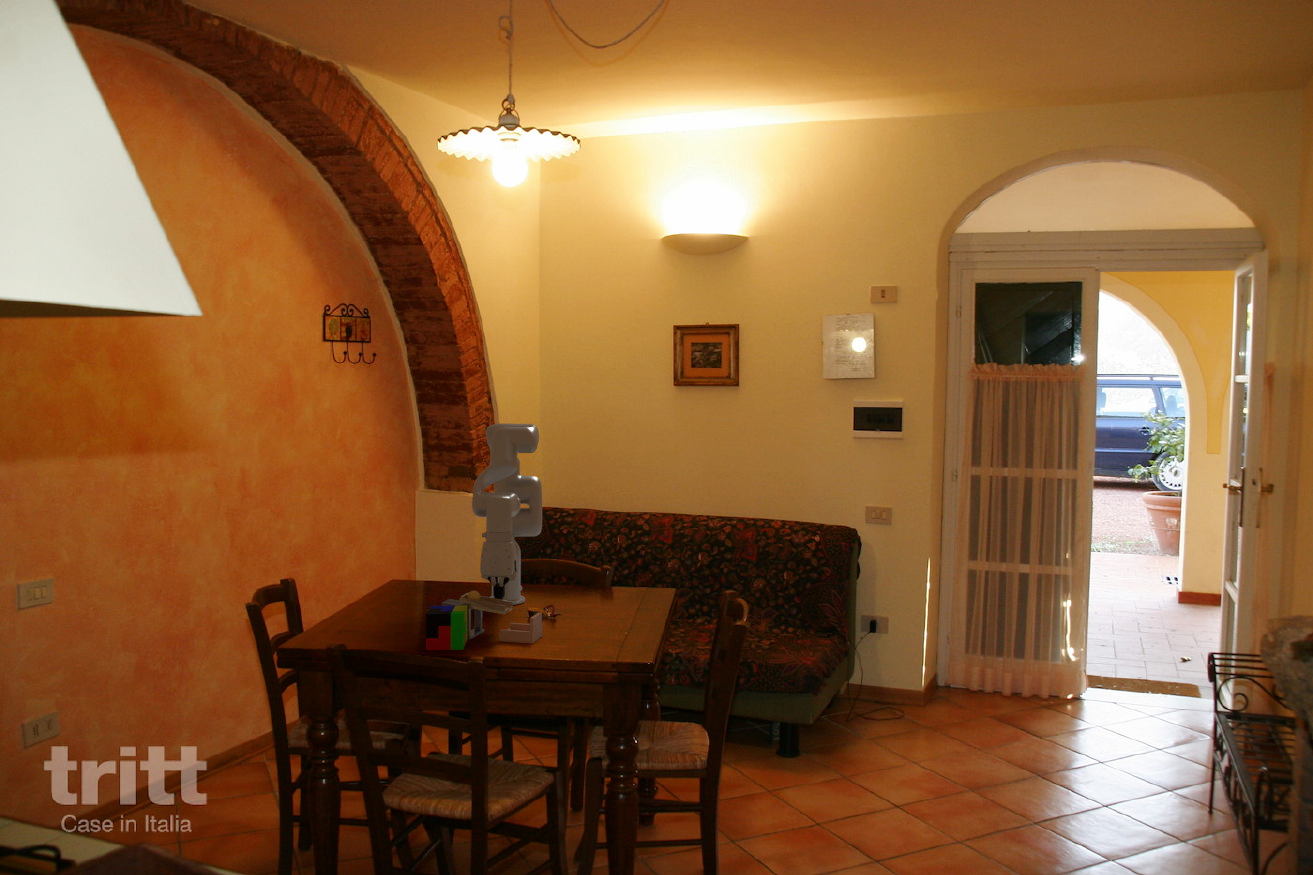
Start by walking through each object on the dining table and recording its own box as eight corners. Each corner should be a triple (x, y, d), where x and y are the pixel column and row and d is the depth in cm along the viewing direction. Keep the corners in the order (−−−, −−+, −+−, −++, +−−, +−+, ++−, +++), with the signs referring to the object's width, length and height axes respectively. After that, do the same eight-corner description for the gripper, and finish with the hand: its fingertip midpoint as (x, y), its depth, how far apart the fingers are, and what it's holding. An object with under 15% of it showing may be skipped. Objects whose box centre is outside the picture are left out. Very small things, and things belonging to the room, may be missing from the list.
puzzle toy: (431, 640, 267) (431, 605, 266) (467, 640, 267) (467, 605, 267) (426, 650, 257) (426, 614, 256) (463, 649, 257) (463, 613, 257)
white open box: (511, 633, 275) (511, 609, 275) (542, 635, 273) (542, 612, 272) (499, 641, 267) (499, 616, 266) (532, 643, 264) (532, 618, 264)
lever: (457, 607, 283) (460, 585, 283) (518, 618, 279) (520, 596, 279) (439, 616, 272) (442, 593, 271) (502, 628, 267) (504, 605, 267)
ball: (470, 601, 275) (470, 589, 274) (482, 601, 274) (482, 589, 274) (465, 604, 271) (465, 591, 271) (477, 604, 270) (477, 592, 270)
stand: (474, 630, 278) (474, 596, 278) (484, 631, 277) (484, 597, 277) (460, 638, 268) (460, 604, 268) (470, 639, 268) (470, 604, 267)
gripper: (470, 538, 275) (470, 600, 275) (518, 540, 272) (518, 603, 272) (480, 534, 282) (480, 595, 283) (527, 536, 279) (527, 598, 279)
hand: (498, 599), depth 277 cm, fingers closed
